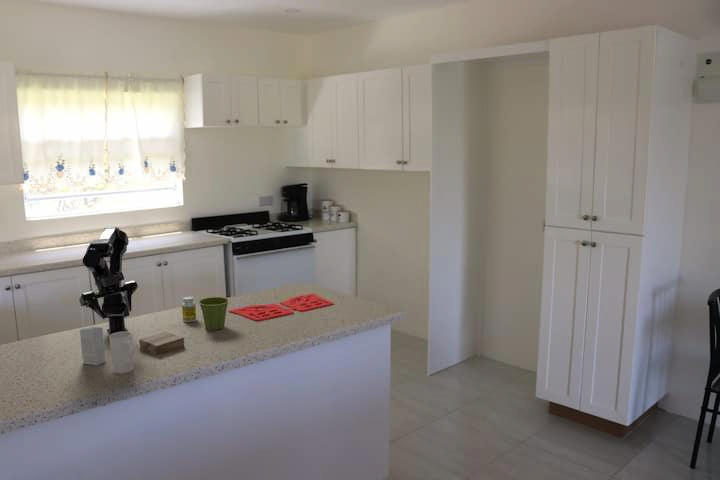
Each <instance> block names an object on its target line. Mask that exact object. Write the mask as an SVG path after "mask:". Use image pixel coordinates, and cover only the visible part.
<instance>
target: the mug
mask: <svg viewBox="0 0 720 480" xmlns="http://www.w3.org/2000/svg"><path fill="white" fill-rule="evenodd" d="M132 334H133V333H132V332H130V331H128V332H126V331H124V332H116V333H113V334H109V336H108V337H109V346H110V356H111V364H112V366H111V367H112V372H113V373H114V374H126V373H129V372H131V371H134V349H133V337H132V336H133V335H132Z"/></svg>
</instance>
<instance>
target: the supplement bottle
mask: <svg viewBox="0 0 720 480" xmlns="http://www.w3.org/2000/svg"><path fill="white" fill-rule="evenodd" d="M182 301H183V303H182V305H181V310H182V311H181V312H182V320H183V322H185V323H191V322H195V321H197V309H196V306H197V305H196V302H194V297H193V296H185V297H183V298H182Z"/></svg>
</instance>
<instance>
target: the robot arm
mask: <svg viewBox="0 0 720 480" xmlns="http://www.w3.org/2000/svg"><path fill="white" fill-rule="evenodd" d="M103 228H104V229H103V232H102V234H101V235H100V236H99V238H98V239H94V240H92V241H91V242H90V243H89V245H87V248H86V251H85V253H84V256H83V257H82V264H83V265H84V267H85V268H87V270H89V271H90V272H91V274H92V277H93V279H94V284H95V286H96V288H97V291H98V292H96V293H95V291H94V290H90V291H86V292H82V293H81V295H80V297H79V300H78V301H79V304H80V307H85V308H89V309H90V310H92V311H93V312H94V313H96V315H98V316H99V317H100V318H101V319H102V320H105V319H108V327H109V328H107V329H106V331H107V332H108V333H109V335H111V334H113V333H116V332H124V331H126V332H129V330H128V329H127V328H126V321H125V318H127V317H129V316H130V313H131V312H132V296H133V294H134V293H136V291H137V289H138V287H139V285H138V282H137V281H135V280H129V281H126V282H124V283H123V285H122V281H124V280H125V277H124V274H123V270H122V269H123V256H124V255H125V254H126V252H127V250H128V249H127V248H128V246H129V243H130V242H129V237H128V236H129V235H127V233H126V232H125V231H123V230H121V229H120V228H119V226H118V227H117V226H106V227H103ZM106 258H109V265H108V262H107V261H106V260H105V259H106ZM101 298H103V302H102V304H101V305H100V303H99V300H98V299H101Z"/></svg>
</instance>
